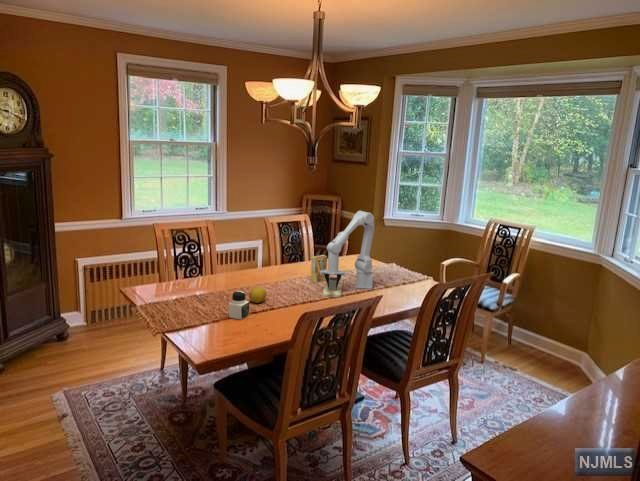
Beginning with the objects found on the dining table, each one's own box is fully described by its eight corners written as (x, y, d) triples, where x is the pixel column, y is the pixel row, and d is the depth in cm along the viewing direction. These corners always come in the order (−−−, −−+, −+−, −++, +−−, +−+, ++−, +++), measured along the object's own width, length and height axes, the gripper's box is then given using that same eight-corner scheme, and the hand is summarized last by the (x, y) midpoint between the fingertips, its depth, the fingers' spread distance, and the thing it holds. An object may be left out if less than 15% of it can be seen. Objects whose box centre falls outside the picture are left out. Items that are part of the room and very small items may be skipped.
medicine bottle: (241, 320, 227) (241, 295, 225) (228, 317, 230) (228, 293, 227) (249, 315, 234) (249, 291, 231) (236, 312, 236) (236, 289, 234)
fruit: (259, 306, 246) (259, 291, 245) (246, 303, 250) (246, 288, 248) (269, 301, 254) (269, 286, 252) (256, 298, 258) (256, 283, 256)
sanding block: (336, 287, 275) (336, 277, 273) (335, 291, 268) (336, 281, 267) (329, 287, 275) (329, 277, 274) (328, 291, 268) (328, 280, 267)
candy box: (322, 278, 295) (322, 254, 291) (326, 280, 292) (327, 255, 288) (310, 281, 289) (311, 256, 286) (315, 283, 286) (315, 258, 283)
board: (341, 286, 281) (341, 284, 281) (341, 297, 263) (341, 295, 262) (324, 285, 282) (324, 283, 282) (322, 296, 263) (322, 294, 263)
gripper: (319, 265, 265) (319, 288, 268) (346, 266, 264) (345, 290, 267) (320, 261, 272) (320, 285, 274) (346, 262, 271) (345, 286, 274)
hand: (332, 287), depth 271 cm, fingers closed on sanding block, 4 cm apart
